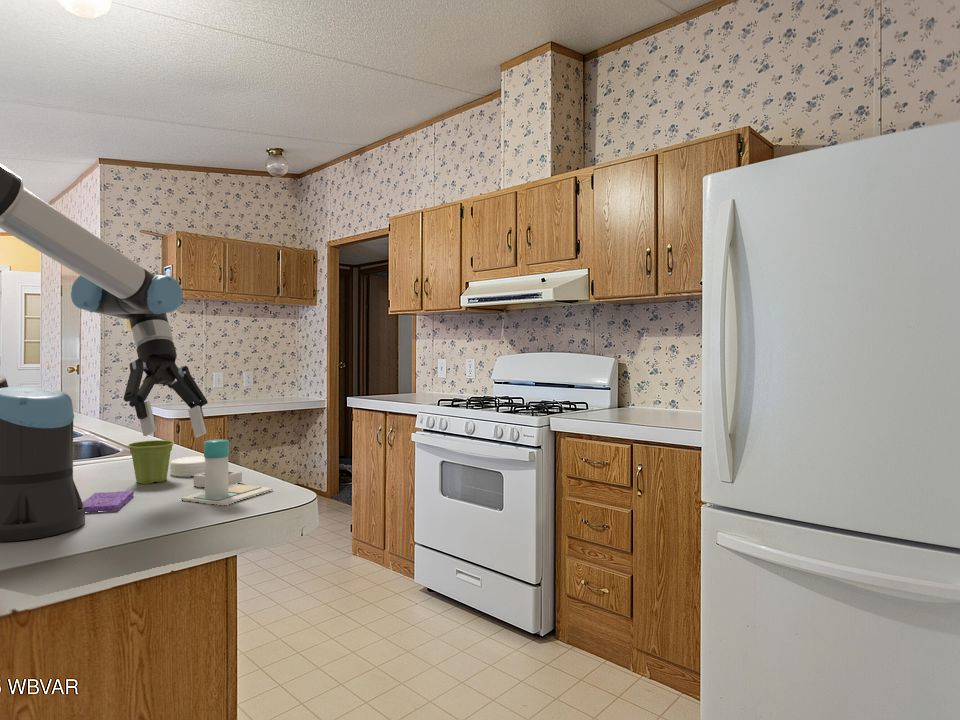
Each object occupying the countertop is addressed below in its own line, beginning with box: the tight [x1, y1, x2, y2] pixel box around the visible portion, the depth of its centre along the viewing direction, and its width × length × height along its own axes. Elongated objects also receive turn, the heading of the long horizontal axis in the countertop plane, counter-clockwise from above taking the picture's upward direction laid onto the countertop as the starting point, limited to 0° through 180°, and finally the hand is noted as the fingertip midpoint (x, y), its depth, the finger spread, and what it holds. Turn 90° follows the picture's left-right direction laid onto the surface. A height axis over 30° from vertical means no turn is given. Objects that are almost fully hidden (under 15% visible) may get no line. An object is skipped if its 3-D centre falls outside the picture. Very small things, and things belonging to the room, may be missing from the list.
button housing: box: [193, 470, 243, 488], centre depth 139 cm, size 7×7×2 cm
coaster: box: [169, 455, 205, 478], centre depth 152 cm, size 10×10×4 cm
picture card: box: [180, 483, 274, 506], centre depth 129 cm, size 14×11×1 cm
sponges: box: [82, 489, 135, 512], centre depth 121 cm, size 7×13×2 cm, turn 17°
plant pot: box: [127, 439, 175, 485], centre depth 142 cm, size 9×9×9 cm
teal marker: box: [203, 439, 230, 498], centre depth 126 cm, size 5×5×11 cm
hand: (176, 434), depth 132 cm, fingers open, 13 cm apart
